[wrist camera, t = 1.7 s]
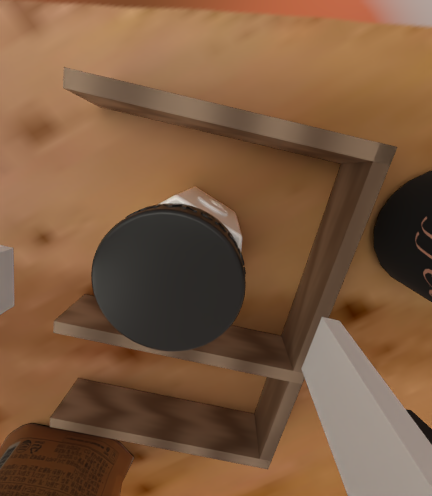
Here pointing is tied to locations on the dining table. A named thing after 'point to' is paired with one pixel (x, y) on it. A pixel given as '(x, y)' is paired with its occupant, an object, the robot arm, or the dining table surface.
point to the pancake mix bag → (61, 463)
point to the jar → (172, 272)
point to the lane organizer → (234, 338)
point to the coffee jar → (408, 235)
